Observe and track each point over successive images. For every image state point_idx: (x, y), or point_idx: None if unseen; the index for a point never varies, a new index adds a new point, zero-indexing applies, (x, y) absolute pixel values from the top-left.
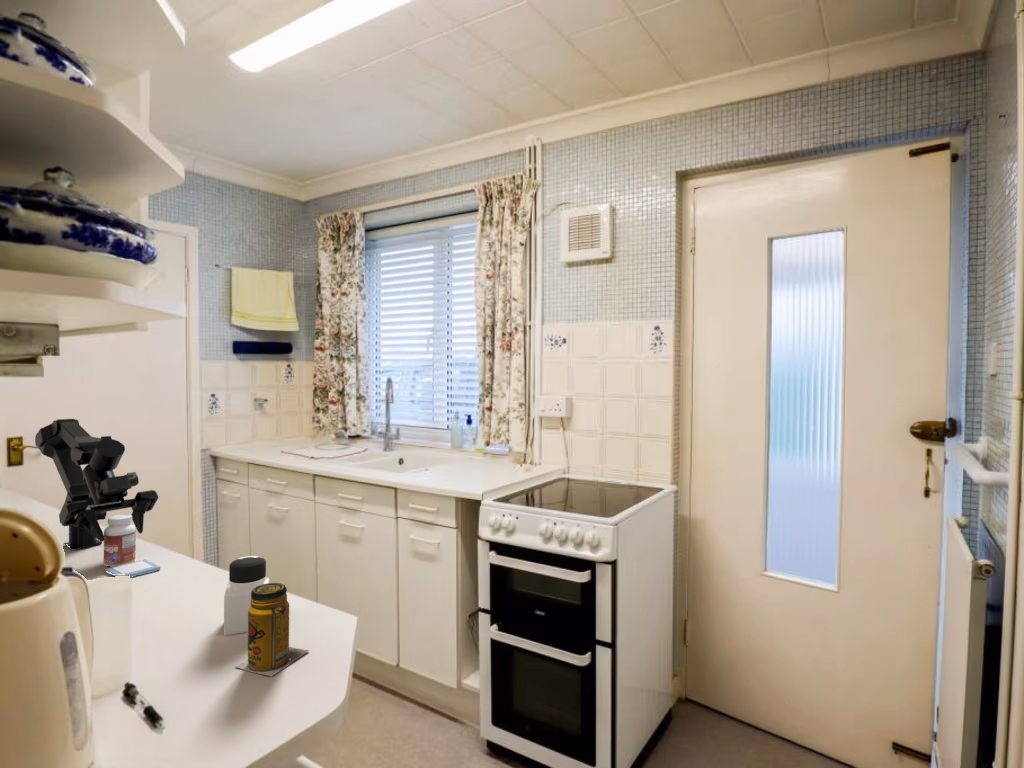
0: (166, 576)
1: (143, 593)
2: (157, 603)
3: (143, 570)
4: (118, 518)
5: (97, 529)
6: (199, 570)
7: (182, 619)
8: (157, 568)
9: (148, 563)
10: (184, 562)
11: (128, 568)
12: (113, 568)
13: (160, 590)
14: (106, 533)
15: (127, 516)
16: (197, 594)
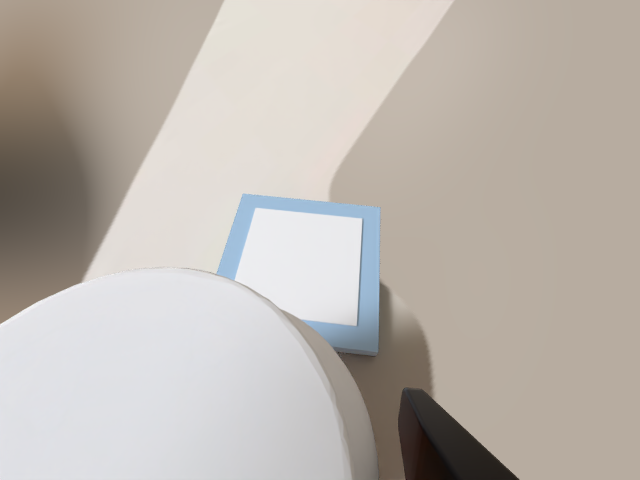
0: (274, 148)
1: (377, 102)
2: (382, 54)
3: (297, 204)
4: (230, 342)
5: (507, 477)
6: (194, 124)
7: (386, 2)
8: (253, 197)
9: (235, 259)
10: (144, 210)
11: (319, 260)
12: (357, 312)
13: (343, 91)
14: (373, 443)
15: (35, 364)
16: (310, 40)
